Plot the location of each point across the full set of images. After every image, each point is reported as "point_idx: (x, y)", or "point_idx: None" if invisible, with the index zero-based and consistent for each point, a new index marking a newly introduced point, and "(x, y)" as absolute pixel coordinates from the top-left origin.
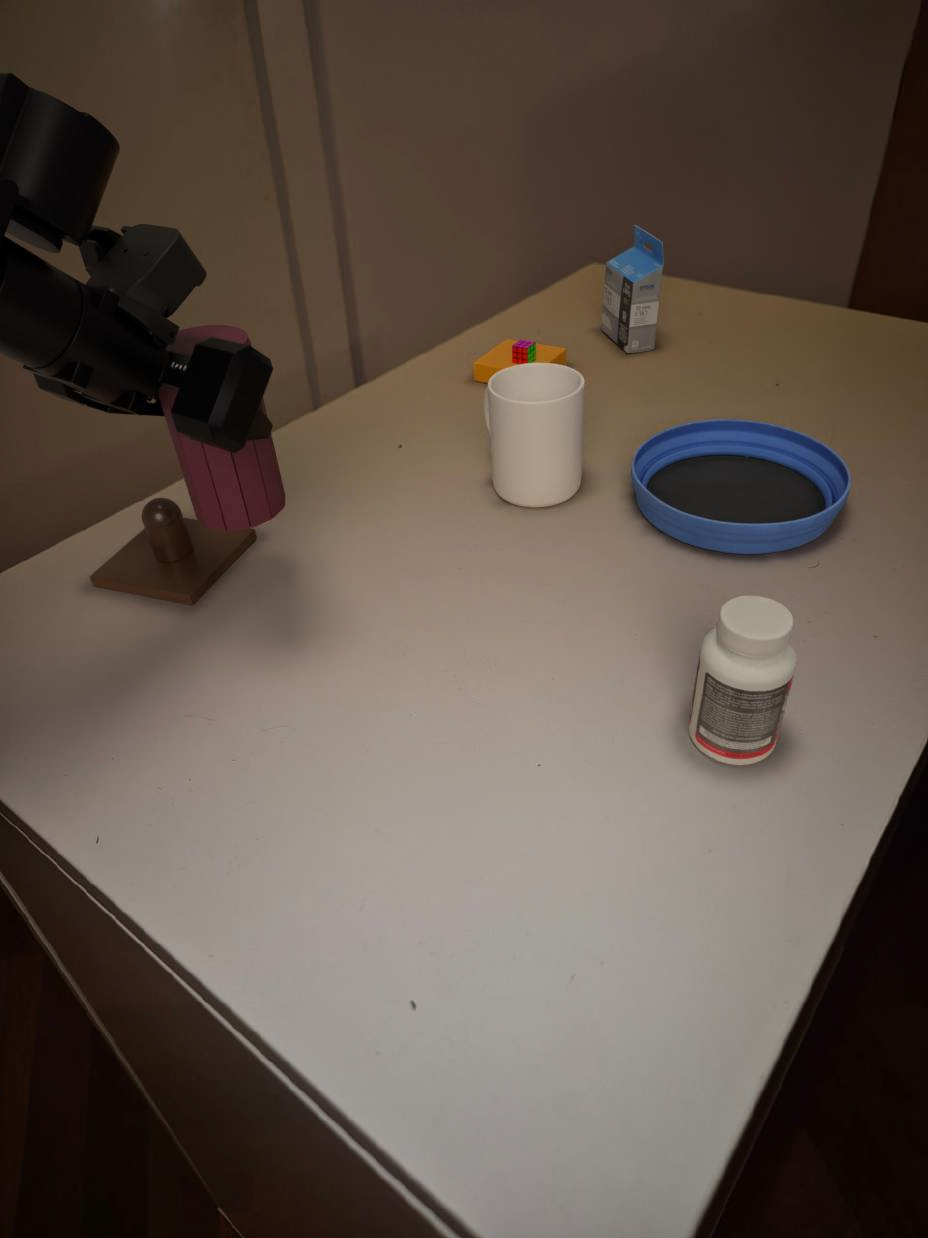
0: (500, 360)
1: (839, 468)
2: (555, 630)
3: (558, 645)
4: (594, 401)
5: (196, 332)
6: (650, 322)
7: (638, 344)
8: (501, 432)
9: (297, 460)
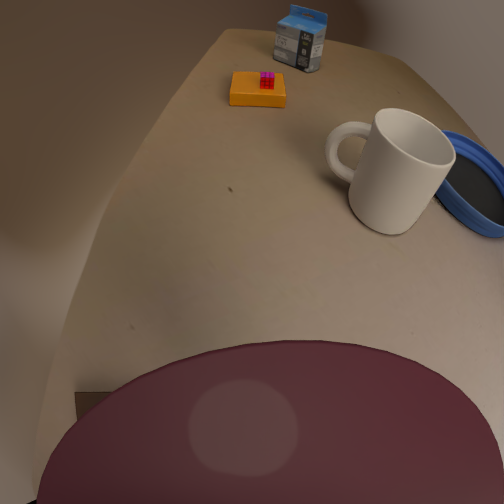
0: (248, 88)
1: (495, 163)
2: (491, 354)
3: (498, 365)
4: (330, 110)
5: (156, 492)
6: (319, 55)
7: (313, 67)
8: (406, 189)
9: (142, 243)
